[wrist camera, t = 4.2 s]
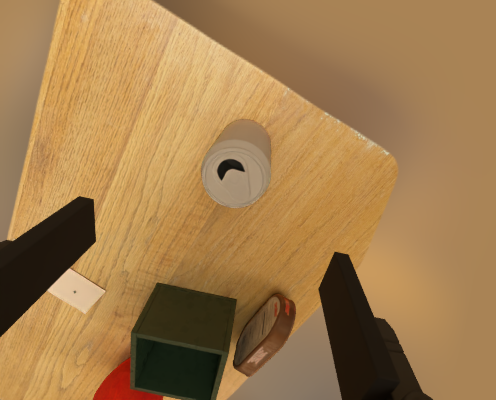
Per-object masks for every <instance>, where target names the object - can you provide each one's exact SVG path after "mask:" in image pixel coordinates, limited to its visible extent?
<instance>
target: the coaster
mask: <svg viewBox="0 0 496 400" xmlns="http://www.w3.org/2000/svg"><path fill="white" fill-rule="evenodd" d="M47 291H48V292H49V293H51V294H53V295H54V296H56V297H58V298H60V299H61V300H63V301H65V302H66V303H68V304H70V305H71V306H73V307H75V308H76V309H78V310H80V311H81V312H83V313H86V312H87V311H88V310H89V309H90V308H91V307H92V306H93V305H94V304H95V303H96V301H97V300H98V299H99V298H100V297H101V296H102V295H103V294H104V293H105V292H106V291H105V290H103V289H102V288H100V287H98V286H97V285H95V284H94V283H92V282H91V281H89V280H87V279H86V278H84V277H83V276H81V275H80V274H78V273H76V272H75V271H73V270H72V269H70V268H69V269H68V270H67V271H66V272H65V273H64V274H63V275H62V276H61V277H60V278H59V279H58V280H57V281H56V282H55V283H54V284H53V285H52V286H51V287H50V288H49V289H48V290H47Z"/></svg>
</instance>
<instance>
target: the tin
mask: <svg viewBox="0 0 496 400" xmlns="http://www.w3.org/2000/svg"><path fill="white" fill-rule="evenodd" d="M295 315H296V307H295V304H294V302H293V301H292V300H289V299H287V298H286V297H284V296H282V295H279V294H275V295H273V296H272V297H271V298H270V299H269V300H268V301H267V302H266V303H265V304H264V305H263V306H262V307H261V308H260V310H259V311H258V312H257V313H256V314H255V315H254V316H253V317H252V319H251V320H250V321H249V322H248V323H247V325H246V326H245V327H244V329H243V331H242V333H241V335H240V337H239V339H238V341H237V345H236V351H235V355H234V360H233V366H234V368H235V369H236V370H238V371H239V372H241V373H243V374H245V375H246V376H247V377H250V376H252V375H254V374H255V373H256V372H257V371H258V370H259V369H260V368H261V367H262V366H263V365H264V364H265V363H266V362H267V361H268V360H270V359H271V358H272V357H273V356H274V355H275V354H276V353H277V352H278V351H279V350H280V349H281V348H282V347H283V345H284V344H285V343H286V341H287V339H288V337H289V335H290V333H291V331H292V328H293V325H294V321H295Z"/></svg>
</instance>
